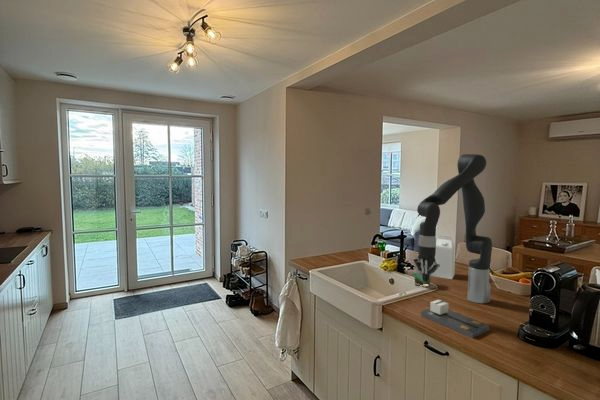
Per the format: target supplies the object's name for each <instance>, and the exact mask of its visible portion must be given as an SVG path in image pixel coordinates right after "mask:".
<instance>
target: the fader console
mask: <svg viewBox="0 0 600 400" xmlns="http://www.w3.org/2000/svg"><path fill="white" fill-rule="evenodd" d="M420 315H421V316H422V317H423V318H425V319H428V320H430V321H432V322H434V323H437V324H440V325H442V326H445V327H447V328H449V329H450V330H454V331H456V332H458V333H460V334H462V335H465V336H467V337H469V338H471V339H474V338H476V337H478V336H481V335H482V334H484V333H486V332H489V331H490V325H489V324H486V323H484V322H481V321H479V320H476V319H473V318H471V317H468V316H465V315H462V314H460V313H457V312H455V311H453V310H449V309H448V312H446V313H443V314H441V315H439V314H437V313H435V312H432V311H430V307H429V308H427V309H424V310H421V312H420Z"/></svg>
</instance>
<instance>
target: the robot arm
mask: <svg viewBox="0 0 600 400" xmlns="http://www.w3.org/2000/svg"><path fill="white" fill-rule="evenodd" d="M456 166H457V172H458V174H457V175H455V176H453V177H451V178H449V179H448V180H446V181H445V182H443V183H442V184H441V185H440V186H439V187H438V188H437V189H436V190H435V191H434V192H433V193H432V194H430V195H428V196H427V197H426V198H424V199H423V200H421V201H420V202H419V204H418V205H417V213H418V215H419V216H421V217H425V219H424V221H423V222H421V223H420V224H419V235H418V236H419V237H418V246H417V247H418V251H417V252H418V255H417V258H415V259H413V261H414V263H415V266H416V267H417V270H418V269H419V271H421V272H422V279H423V281H425V282H427V281H429V275H430V274H431V275H432V273H434V272H435V271H436V270H437V269H438V268H439V266H440V265H439V264H437V263H436V262H435V261H436V260H435V254H436V241H437V238H436V236H437V232H436V231H437V225H438V222H439V219H440V216H441V208H440V206H443V205H445V204H446V203H448V201H450V199H452V197H454V195H455V194H456V193H457V192H458V191H459V190H461V191H462V193H461V194H462V202H463V203H462V204H463V206H462V207H463V213H464V221H465V247H466V250H467V252H469V253H471V254H477V255H480V256H479V258H476V259H470V260H469V261H468V277H467V279H468V280H467V295H466V296H467V298H466V299H467V300H468V301H470V302H473V303H475V304H487V303H490V302H491V283H490V267H491V262H492V253H493V252H492V251H493V250H492V249H493V240H492V238H491V237H488V236H482V235H477V226H478V225H479V222H480V221H481V220H482V218H483V217H484V216H485V214H486V205H485V198H484V195H483V193H482V192H481V190H480V188H479V187H478V186H477V184H476V182H475V178H476V177H477V176H478V175H480V174H481V173H482V172H484V170H485V169H486V166H487V159H486V157H485V156H484V155H482V154H477V153H476V154H474V153H473V154H472V153H471V154H469V153H464V154H461V155H460V156H459V158H458V159H457V165H456ZM432 265H433V267H432Z"/></svg>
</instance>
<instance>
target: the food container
mask: <svg viewBox="0 0 600 400" xmlns="http://www.w3.org/2000/svg"><path fill="white" fill-rule="evenodd" d="M413 273H414V275H413V276H414V286H415V287H419V286H420V285H423V284H430V285H431V277H432V273H431V274H430V275H429V281H427V282H425V281H423V279H422V272H421V271H419V269H418V268H417V269H416V268H414V269H413Z"/></svg>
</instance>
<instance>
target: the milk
mask: <svg viewBox="0 0 600 400" xmlns="http://www.w3.org/2000/svg"><path fill="white" fill-rule="evenodd" d="M455 259H456V258H455V244H454V242H453V240H452V237H451V235H448V234H439V235H438V237H437V238H436V254H435V260H436V261H435V262H436V263H437V264H439V265H440V266H439V268H438V269H437V270H436V271H435V272H434V273H431V277H435V278H441V279H449V280H453V279H454V277H455V273H456V272H455V271H456V270H455V268H456V267H455ZM432 267H433V265H432Z"/></svg>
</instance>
